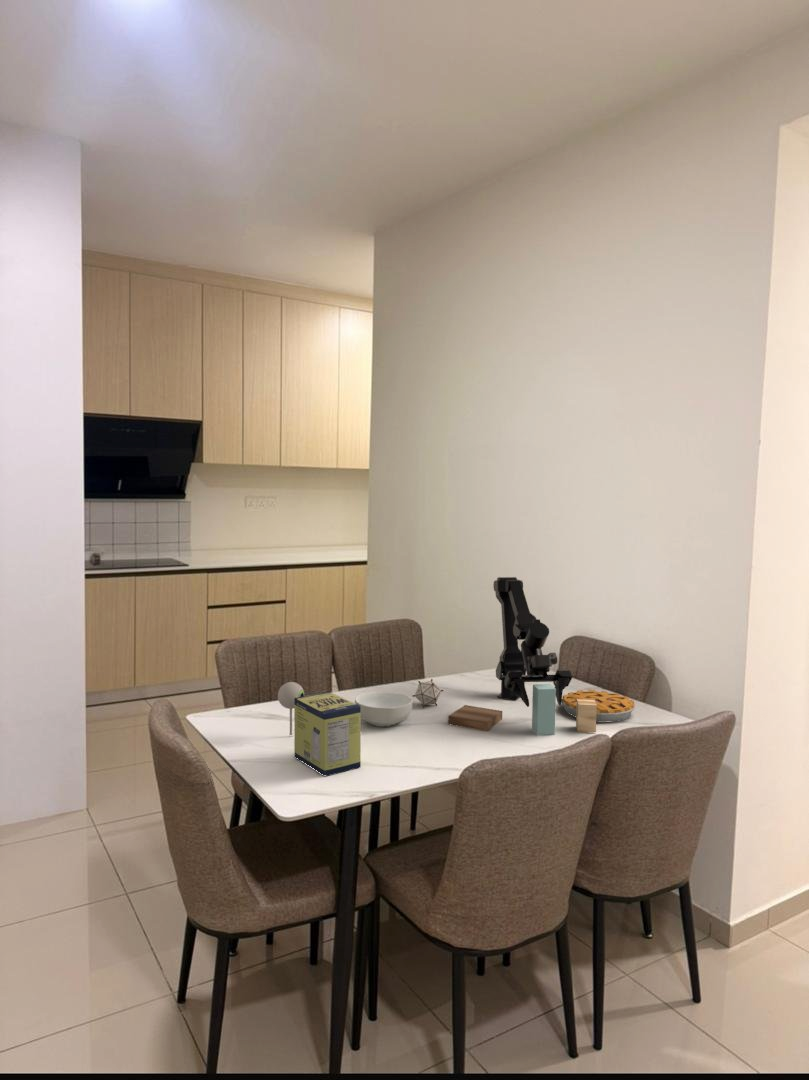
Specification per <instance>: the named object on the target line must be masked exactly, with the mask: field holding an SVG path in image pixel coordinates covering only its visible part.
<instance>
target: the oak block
mask: <svg viewBox="0 0 809 1080" xmlns="http://www.w3.org/2000/svg"><path fill="white" fill-rule="evenodd" d="M596 714H597V705H596V702H595V700H581V699H577V712H576V717H575V727H576V731H578V732H577V733H582V732H596V733H597V722H596Z"/></svg>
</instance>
